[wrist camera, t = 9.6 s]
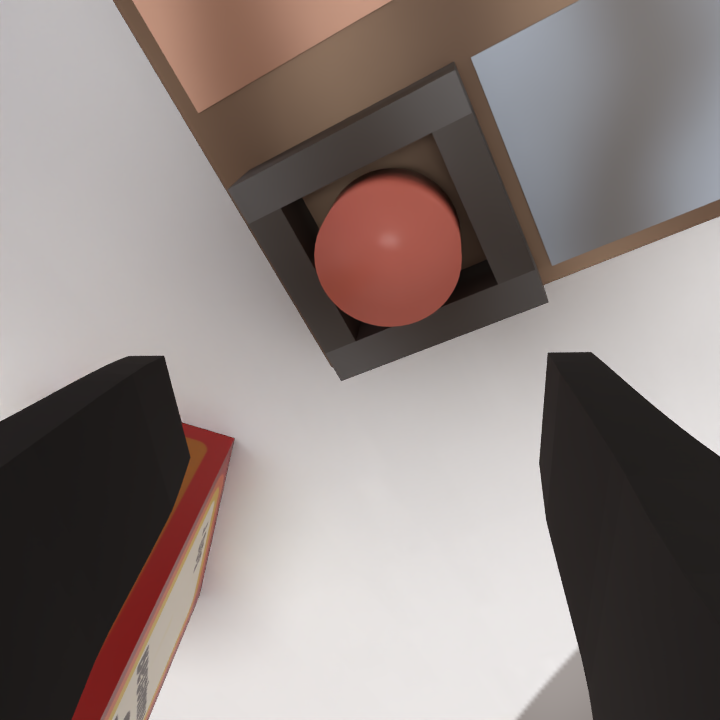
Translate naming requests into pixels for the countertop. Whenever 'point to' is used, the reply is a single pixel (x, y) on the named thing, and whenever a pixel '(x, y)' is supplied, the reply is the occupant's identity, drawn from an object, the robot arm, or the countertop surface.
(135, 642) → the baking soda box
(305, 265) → the compartment tray
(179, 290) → the countertop surface
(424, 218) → the button
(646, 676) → the robot arm
